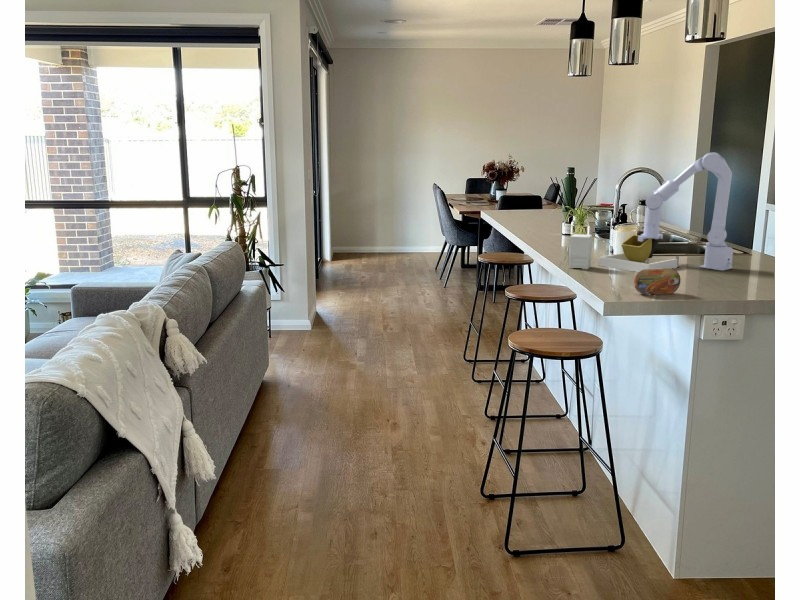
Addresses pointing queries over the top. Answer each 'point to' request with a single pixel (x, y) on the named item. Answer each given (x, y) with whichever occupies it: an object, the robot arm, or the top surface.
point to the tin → (657, 281)
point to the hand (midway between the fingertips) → (648, 257)
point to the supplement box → (580, 251)
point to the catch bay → (634, 263)
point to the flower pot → (637, 249)
